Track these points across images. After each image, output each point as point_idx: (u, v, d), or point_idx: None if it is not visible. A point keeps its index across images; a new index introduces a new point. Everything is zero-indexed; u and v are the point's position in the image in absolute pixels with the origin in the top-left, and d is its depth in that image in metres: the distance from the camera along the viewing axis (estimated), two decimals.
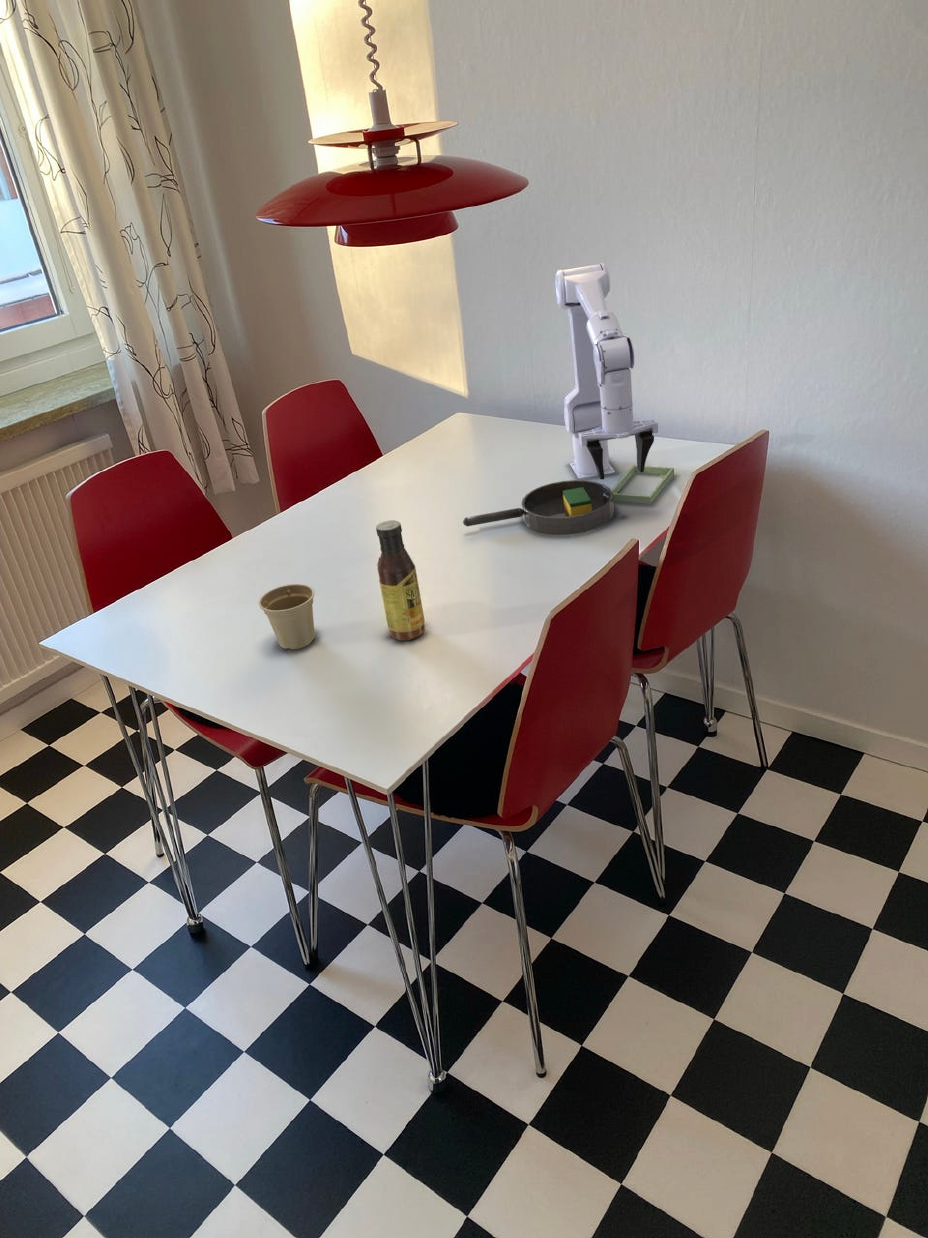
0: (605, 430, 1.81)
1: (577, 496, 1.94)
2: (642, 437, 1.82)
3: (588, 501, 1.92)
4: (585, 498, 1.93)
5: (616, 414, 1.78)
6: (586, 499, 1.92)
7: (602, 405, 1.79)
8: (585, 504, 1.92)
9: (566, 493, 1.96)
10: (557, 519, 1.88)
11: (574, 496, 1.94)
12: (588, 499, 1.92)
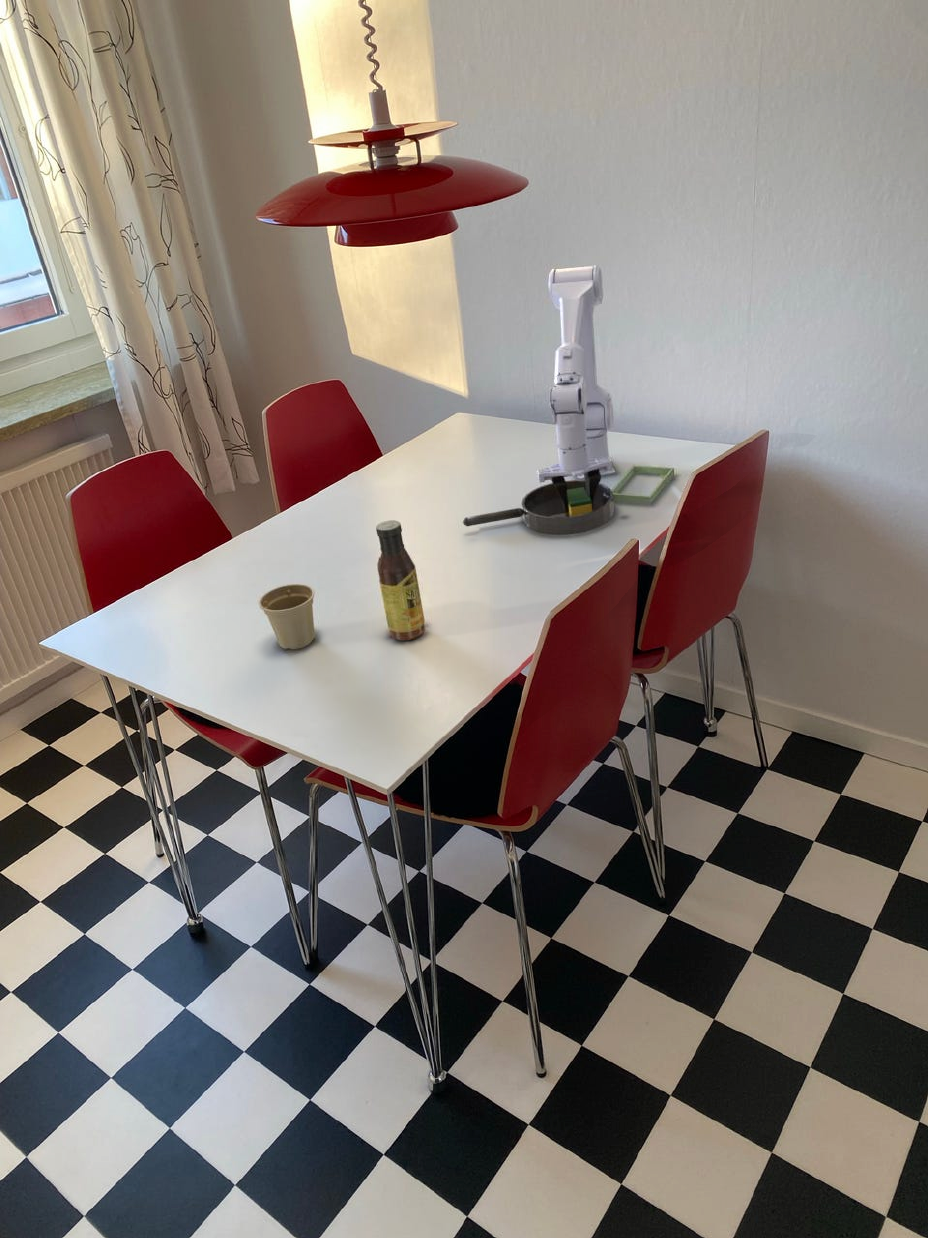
0: (561, 468, 1.90)
1: (577, 496, 1.94)
2: (590, 476, 1.91)
3: (588, 501, 1.92)
4: (585, 498, 1.93)
5: (571, 453, 1.87)
6: (586, 499, 1.92)
7: (557, 443, 1.89)
8: (585, 504, 1.92)
9: None
10: (557, 519, 1.88)
11: (574, 496, 1.94)
12: (588, 499, 1.92)
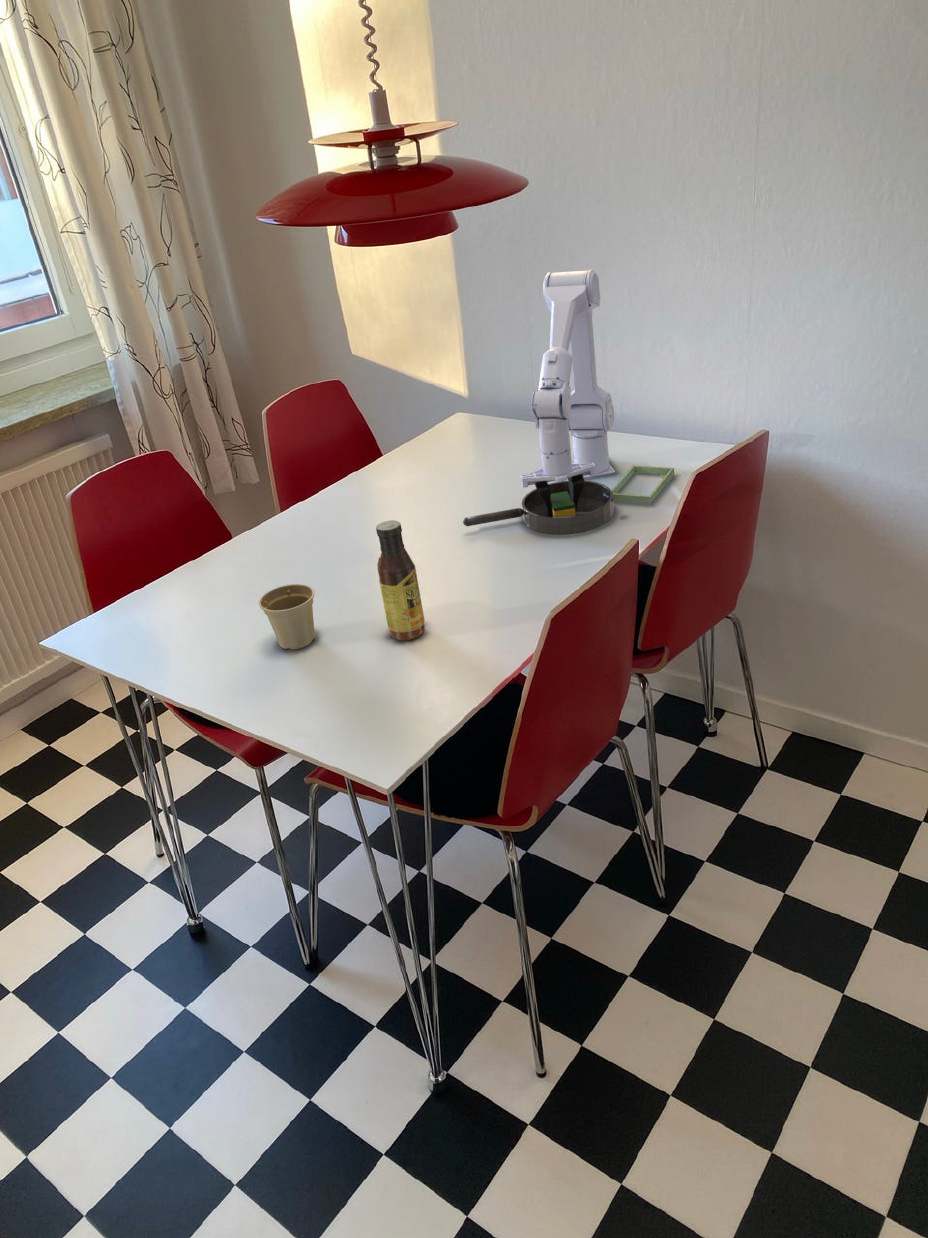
0: (545, 473, 1.90)
1: (561, 500, 1.94)
2: (573, 481, 1.91)
3: (572, 505, 1.91)
4: (569, 502, 1.92)
5: (554, 458, 1.87)
6: (570, 503, 1.92)
7: None
8: (569, 508, 1.91)
9: None
10: (557, 519, 1.88)
11: (558, 500, 1.94)
12: (572, 503, 1.92)
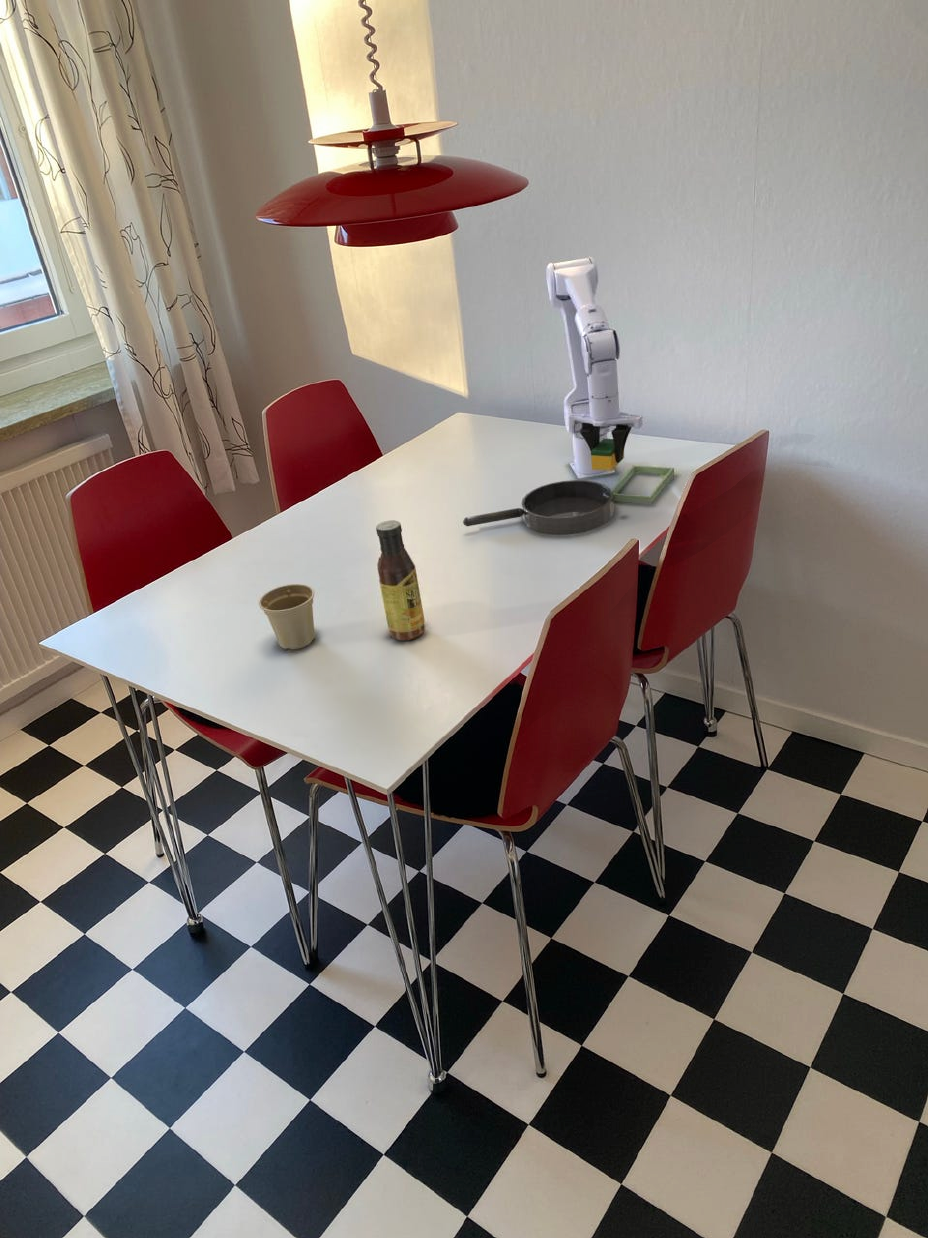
0: (590, 415, 1.92)
1: (605, 446, 1.94)
2: (615, 429, 1.90)
3: (608, 453, 1.92)
4: (608, 450, 1.92)
5: (594, 402, 1.88)
6: (608, 450, 1.92)
7: (589, 394, 1.89)
8: (605, 455, 1.92)
9: (602, 441, 1.97)
10: (557, 519, 1.88)
11: (603, 446, 1.95)
12: (609, 451, 1.92)
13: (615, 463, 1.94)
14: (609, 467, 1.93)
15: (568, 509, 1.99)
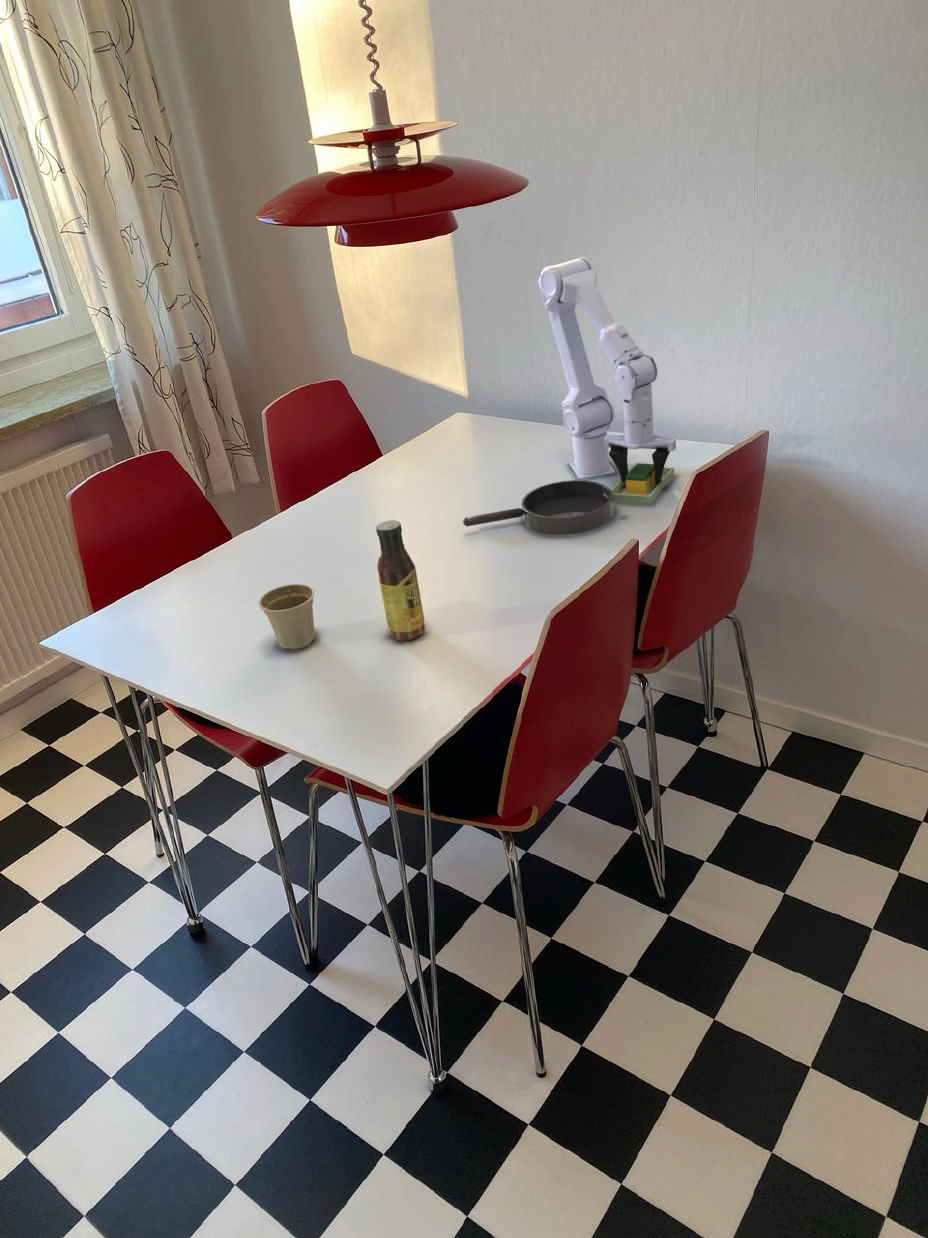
0: (625, 438, 1.98)
1: (640, 471, 2.01)
2: (655, 452, 1.96)
3: (642, 478, 1.98)
4: (643, 474, 1.99)
5: (630, 426, 1.95)
6: (642, 475, 1.99)
7: (629, 419, 1.94)
8: (639, 480, 1.99)
9: (636, 466, 2.03)
10: (557, 519, 1.88)
11: (638, 470, 2.01)
12: (644, 476, 1.98)
13: (649, 487, 2.01)
14: (644, 491, 2.00)
15: (568, 509, 1.99)
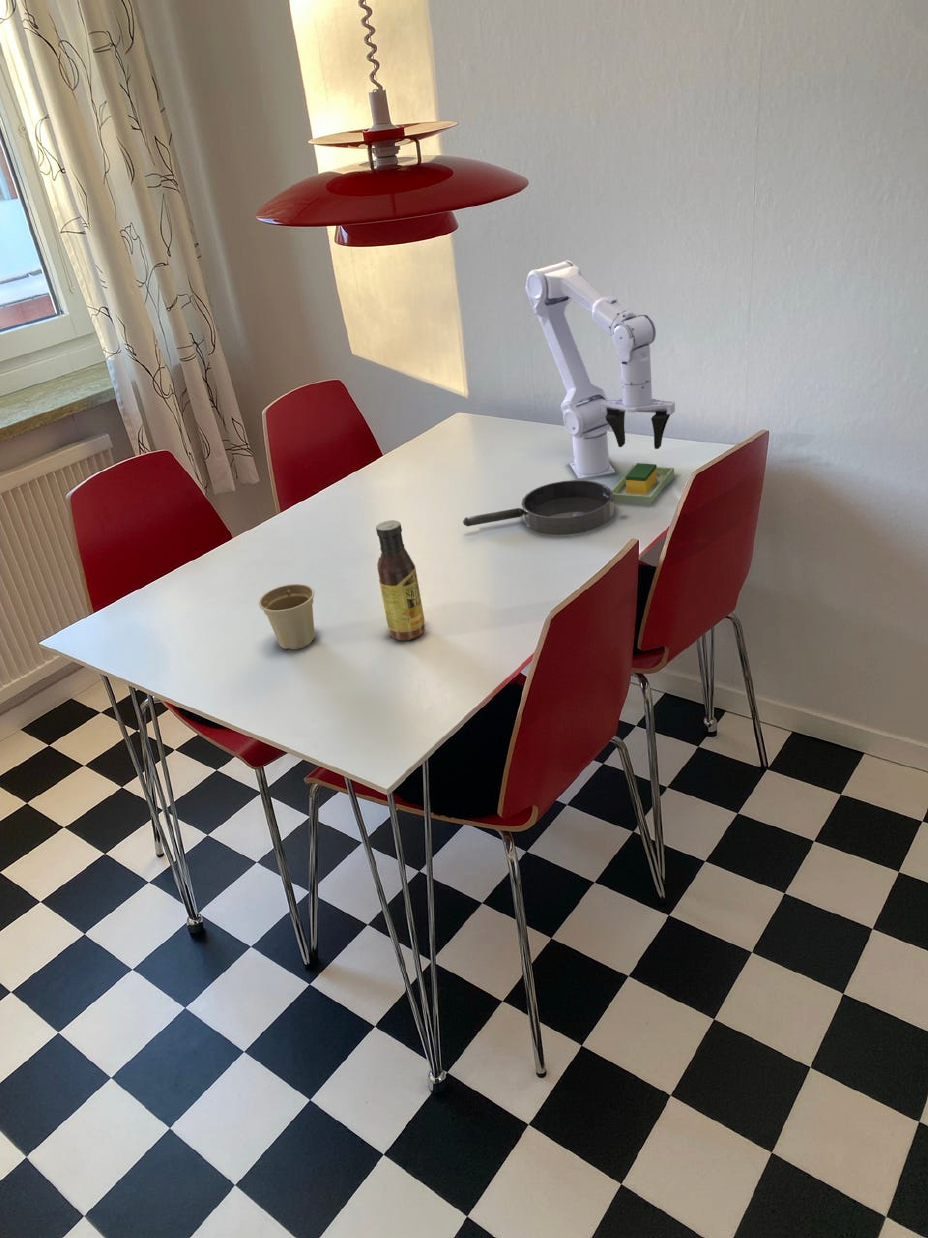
0: (622, 402, 1.95)
1: (640, 471, 2.01)
2: (655, 415, 1.92)
3: (642, 478, 1.98)
4: (643, 474, 1.99)
5: (627, 389, 1.91)
6: (642, 475, 1.99)
7: (627, 382, 1.90)
8: (639, 480, 1.99)
9: (636, 466, 2.03)
10: (557, 519, 1.88)
11: (638, 470, 2.01)
12: (644, 476, 1.98)
13: (649, 487, 2.01)
14: (644, 491, 2.00)
15: (568, 509, 1.99)
